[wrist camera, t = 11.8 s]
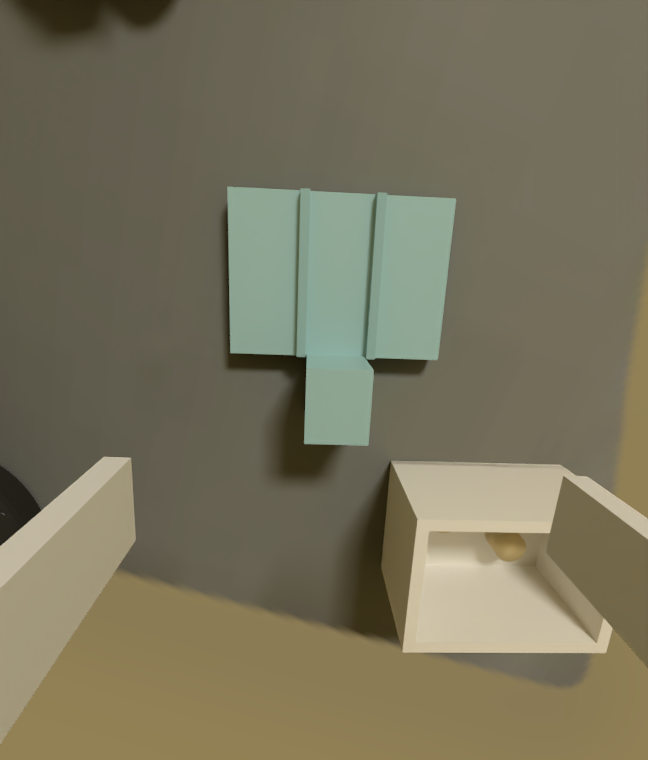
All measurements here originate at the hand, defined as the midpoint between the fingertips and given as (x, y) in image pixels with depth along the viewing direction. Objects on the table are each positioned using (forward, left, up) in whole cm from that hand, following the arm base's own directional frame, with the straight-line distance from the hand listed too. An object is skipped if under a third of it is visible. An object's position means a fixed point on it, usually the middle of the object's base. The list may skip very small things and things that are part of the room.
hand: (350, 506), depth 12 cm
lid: (+1, +5, -18) cm, 19 cm away
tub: (+13, -12, -18) cm, 25 cm away
